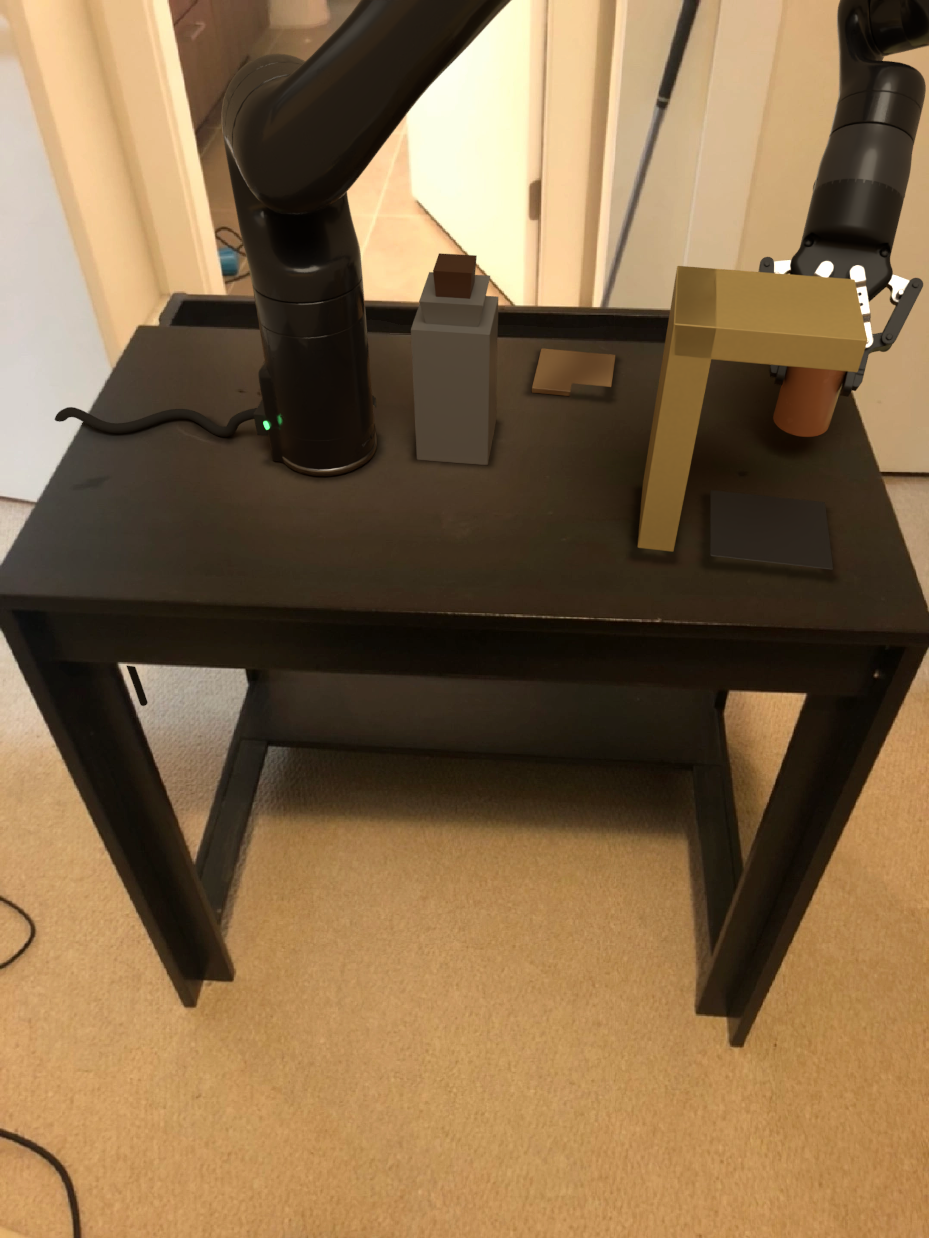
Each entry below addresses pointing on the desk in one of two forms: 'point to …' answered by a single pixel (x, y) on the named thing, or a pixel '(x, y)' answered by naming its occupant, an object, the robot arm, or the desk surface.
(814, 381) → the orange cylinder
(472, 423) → the perfume bottle
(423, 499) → the desk surface
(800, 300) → the tan l-shaped post
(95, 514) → the desk surface
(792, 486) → the desk surface
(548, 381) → the cork mat
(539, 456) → the desk surface
